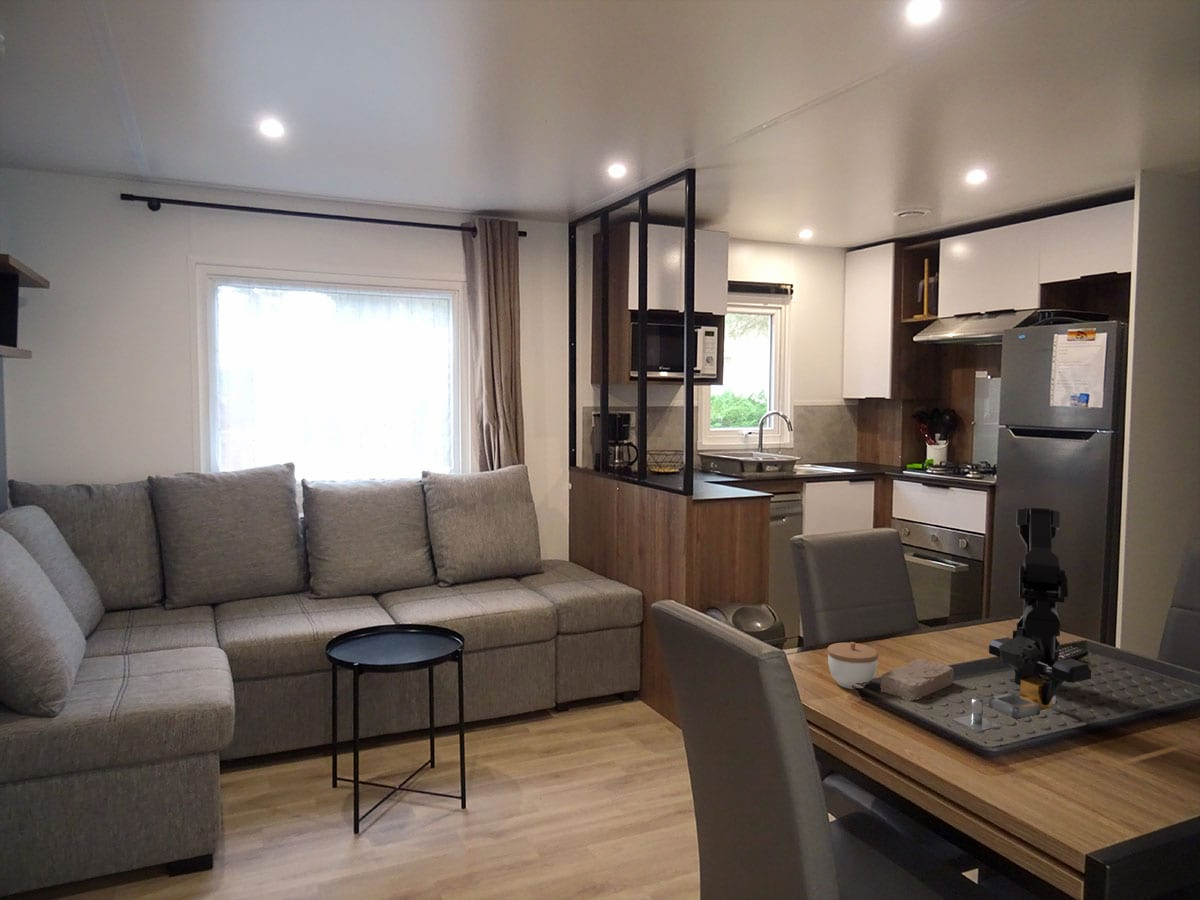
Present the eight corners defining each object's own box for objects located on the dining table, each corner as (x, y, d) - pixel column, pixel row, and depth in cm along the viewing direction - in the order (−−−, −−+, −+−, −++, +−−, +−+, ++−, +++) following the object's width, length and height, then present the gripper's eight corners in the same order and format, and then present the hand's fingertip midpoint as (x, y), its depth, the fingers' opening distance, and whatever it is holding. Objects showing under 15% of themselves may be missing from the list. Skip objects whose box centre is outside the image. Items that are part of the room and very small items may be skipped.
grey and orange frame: (1037, 696, 164) (1038, 672, 163) (1066, 708, 158) (1067, 683, 157) (988, 707, 158) (989, 682, 158) (1016, 719, 152) (1017, 694, 152)
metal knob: (974, 717, 157) (975, 692, 156) (1000, 729, 151) (1001, 703, 151) (952, 722, 154) (952, 696, 154) (977, 735, 149) (978, 708, 148)
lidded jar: (819, 676, 181) (820, 635, 180) (865, 674, 182) (866, 634, 181) (837, 694, 170) (838, 651, 170) (885, 692, 171) (887, 650, 171)
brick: (913, 706, 165) (914, 684, 164) (877, 694, 171) (878, 672, 171) (954, 688, 175) (955, 667, 175) (918, 677, 182) (919, 657, 181)
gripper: (970, 616, 163) (967, 690, 164) (1053, 643, 146) (1050, 725, 147) (1009, 610, 167) (1006, 682, 168) (1095, 635, 150) (1091, 716, 151)
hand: (1035, 700), depth 159 cm, fingers closed on grey and orange frame, 4 cm apart
